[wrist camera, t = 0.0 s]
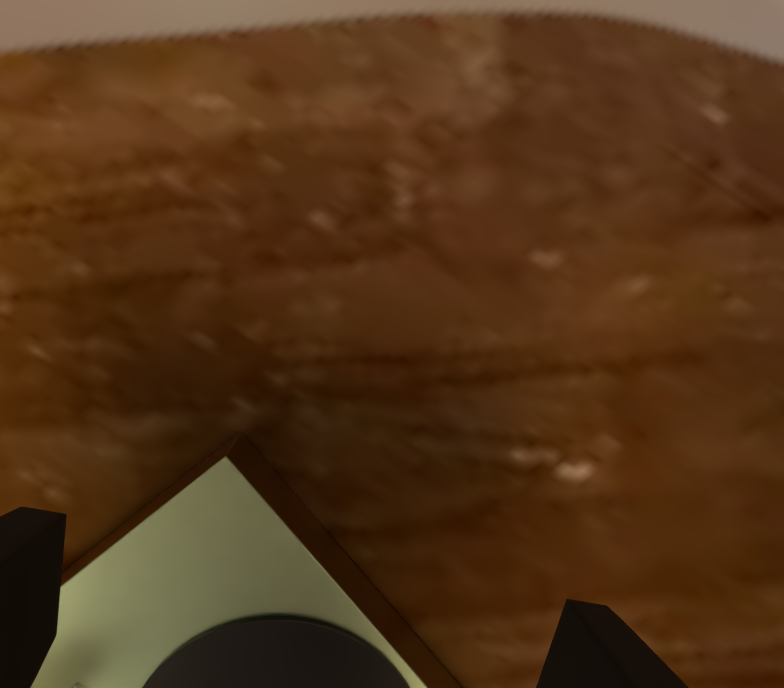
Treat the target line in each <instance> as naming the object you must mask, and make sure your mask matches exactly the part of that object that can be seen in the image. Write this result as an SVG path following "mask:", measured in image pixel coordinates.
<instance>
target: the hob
mask: <svg viewBox="0 0 784 688" xmlns="http://www.w3.org/2000/svg"><path fill="white" fill-rule="evenodd" d="M266 616H292V617H299V618H306V619H312V620H316V621H320V622H323V623H327V624H331V625H333V626H336V627H338V628H341V629H343V630H345V631H348V632H350V633H352V634H354V635H355V636H357V637H359V638H361V639H362V640H364V641H366V642H367V643H369V644H370V645H371V646H373V647H374V648H375V649H377V650H378V651H379V652H380V653H382V654H383V655H384V656H385V657H386V658H387V659H388V660H389V661H390V662H391V663H392V664H393V665H394V666H395V667H396V669H397V670H398V671H399V672H400V674H401V675H402V676H403V678H404V679H405V680H406V682H407V683H408V685H409V687H410V688H462V687H461V686H460V685H459V684H458V683H457V682H456V681H455V679H454V678H453V677H452V676H451V675H450V674H449V672H448V671H447V670H446V669H445V668H444V667H443V665H442V664H441V663H440V662H439V661H438V660H437V659H436V657H435V656H434V655H433V654H432V653H431V652H430V650H429V649H428V648H427V647H426V646H425V645H424V643H423V642H422V641H421V640H420V639H419V638H418V636H417V635H416V634H415V633H414V632H413V631H412V630H411V628H410V627H409V626H408V625H407V624H406V623H405V621H404V620H403V619H402V618H401V617H400V616H399V614H398V613H397V612H396V611H395V610H394V609H393V608H392V606H391V605H390V604H389V603H388V602H387V601H386V599H385V598H384V597H383V596H382V595H381V594H380V592H379V591H378V590H377V589H376V588H375V587H374V585H373V584H372V583H371V582H370V581H369V580H368V579H367V577H366V576H365V575H364V574H363V573H362V572H361V570H360V569H359V568H358V567H357V566H356V565H355V563H354V562H353V561H352V560H351V559H350V558H349V557H348V555H347V554H346V553H345V552H344V551H343V550H342V548H341V547H340V546H339V545H338V544H337V543H336V541H335V540H334V539H333V538H332V537H331V536H330V534H329V533H328V532H327V531H326V530H325V529H324V528H323V526H322V525H321V524H320V523H319V522H318V521H317V519H316V518H315V517H314V516H313V515H312V514H311V512H310V511H309V510H308V509H307V508H306V507H305V505H304V504H303V503H302V502H301V501H300V500H299V499H298V497H297V496H296V495H295V494H294V493H293V492H292V490H291V489H290V488H289V487H288V486H287V485H286V483H285V482H284V481H283V480H282V479H281V478H280V477H279V475H278V474H277V473H276V472H275V471H274V470H273V468H272V467H271V466H270V465H269V464H268V463H267V461H266V460H265V459H264V458H263V457H262V456H261V454H260V453H259V452H258V451H257V450H256V449H255V448H254V446H253V445H252V444H251V443H250V442H249V441H248V439H247V438H246V437H245V436H244V435H243V434H242V433H241V432H239V433H237V434H236V435H235V436H234V437H232V438H231V439H230V440H229V441H227V442H226V443H225V444H224V445H222V446H221V447H220V448H219V449H217V450H216V451H215V452H213V453H212V454H211V455H210V456H208V457H207V458H206V459H205V460H203V461H202V462H201V463H200V464H198V465H197V466H196V467H195V468H193V469H192V470H191V471H189V472H188V473H187V474H186V475H184V476H183V477H182V478H181V479H179V480H178V481H177V482H176V483H174V484H173V485H172V486H171V487H169V488H168V489H167V490H165V491H164V492H163V493H162V494H160V495H159V496H158V497H157V498H155V499H154V500H153V501H152V502H150V503H149V504H148V505H147V506H145V507H144V508H143V509H141V510H140V511H139V512H138V513H136V514H135V515H134V516H133V517H131V518H130V519H129V520H128V521H126V522H125V523H124V524H123V525H121V526H120V527H119V528H117V529H116V530H115V531H114V532H112V533H111V534H110V535H109V536H107V537H106V538H105V539H104V540H102V541H101V542H100V543H99V544H97V545H96V546H95V547H94V548H92V549H91V550H90V551H88V552H87V553H86V554H85V555H83V556H82V557H81V558H80V559H78V560H77V561H76V562H75V563H73V564H72V565H71V566H70V567H68V568H67V569H66V570H64V571H63V572H62V576H61V588H60V601H59V613H58V625H57V635H56V638H55V640H54V642H53V644H52V646H51V648H50V650H49V652H48V654H47V656H46V658H45V660H44V662H43V664H42V666H41V668H40V670H39V672H38V674H37V676H36V678H35V680H34V682H33V684H32V686H31V688H142V687H143V686H144V684H145V683H146V681H147V680H148V678H149V677H150V676H151V675H152V673H153V672H154V671H155V670H156V669H157V668H158V667H159V665H160V664H161V663H162V662H163V661H164V660H166V659H167V658H168V657H169V656H170V655H171V654H172V653H173V652H175V651H176V650H177V649H179V648H180V647H182V646H183V645H184V644H186V643H187V642H189V641H190V640H192V639H194V638H196V637H197V636H199V635H201V634H203V633H205V632H207V631H209V630H211V629H214V628H217V627H220V626H222V625H225V624H228V623H231V622H236V621H240V620H244V619H249V618H257V617H266Z"/></svg>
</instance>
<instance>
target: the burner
mask: <svg viewBox="0 0 784 688" xmlns="http://www.w3.org/2000/svg"><path fill="white" fill-rule="evenodd" d="M142 688H410V687H409V685H408V683H407V682H406V680H405V679H404V678H403V676H402V675H401V674H400V672H399V671H398V670H397V669H396V667H395V666H394V665H393V664H392V663H391V662H390V661H389V660H388V659H387V658H386V657H385V656H384V655H383V654H382V653H380V652H379V651H378V650H377V649H375V648H374V647H373V646H371V645H370V644H369V643H367V642H366V641H364V640H362V639H361V638H359V637H357V636H355V635H354V634H352V633H350V632H348V631H345V630H343V629H341V628H338V627H336V626H333V625H331V624H327V623H323V622H320V621H316V620H312V619H306V618H299V617H292V616H266V617H257V618H249V619H244V620H240V621H236V622H231V623H228V624H225V625H222V626H220V627H217V628H214V629H211V630H209V631H207V632H205V633H203V634H201V635H199V636H197V637H196V638H194V639H192V640H190V641H189V642H187V643H186V644H184V645H183V646H182V647H180V648H179V649H177V650H176V651H175V652H173V653H172V654H171V655H170V656H169V657H168V658H167V659H166V660H164V661H163V662H162V663H161V664H160V665H159V667H158V668H157V669H156V670H155V671H154V672H153V673H152V675H151V676H150V677H149V678H148V680H147V681H146V683H145V684H144V686H143V687H142Z"/></svg>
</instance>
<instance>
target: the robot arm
mask: <svg viewBox="0 0 784 688" xmlns="http://www.w3.org/2000/svg"><path fill="white" fill-rule="evenodd" d="M65 526H66V514H63V513H57V512H51V511H45V510H39V509H33V508H27V507H19V508H17V509H15V510H13V511H11V512H9V513H7V514H5V515H3V516H1V517H0V688H31V686H32V684H33V682H34V680H35V678H36V676H37V674H38V672H39V670H40V668H41V666H42V664H43V662H44V660H45V658H46V656H47V654H48V652H49V650H50V648H51V646H52V644H53V642H54V640H55V638H56V635H57V625H58V613H59V601H60V588H61V576H62V563H63V551H64V538H65ZM536 688H688V687H687V686H686V685H685V684H684V683H683V682H682V681H681V680H680V678H679V677H678V676H677V675H676V674H675V673H674V672H673V671H672V670H671V669H670V668H669V667H668V666H667V665H666V664H665V663H664V662H663V661H662V660H661V659H660V658H659V657H658V656H657V655H656V654H655V653H654V652H653V651H652V650H651V649H650V648H649V647H648V645H647V644H646V643H645V642H644V641H643V640H642V639H641V638H640V637H639V636H638V635H637V634H636V633H635V632H634V631H633V630H632V629H631V628H630V627H629V626H628V625H627V624H626V623H625V622H624V621H623V620H622V619H621V618H620V617H618V616H617V615H616V614H615V613H614V612H613V611H612V610H611V609H610V608H609V607H607V606H605V605H599V604H594V603H588V602H582V601H576V600H570V599H567V600H566V603H565V606H564V609H563V612H562V614H561V617H560V620H559V623H558V626H557V629H556V632H555V635H554V638H553V641H552V643H551V646H550V649H549V652H548V655H547V658H546V661H545V664H544V667H543V670H542V673H541V675H540V678H539V681H538V684H537V687H536Z"/></svg>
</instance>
